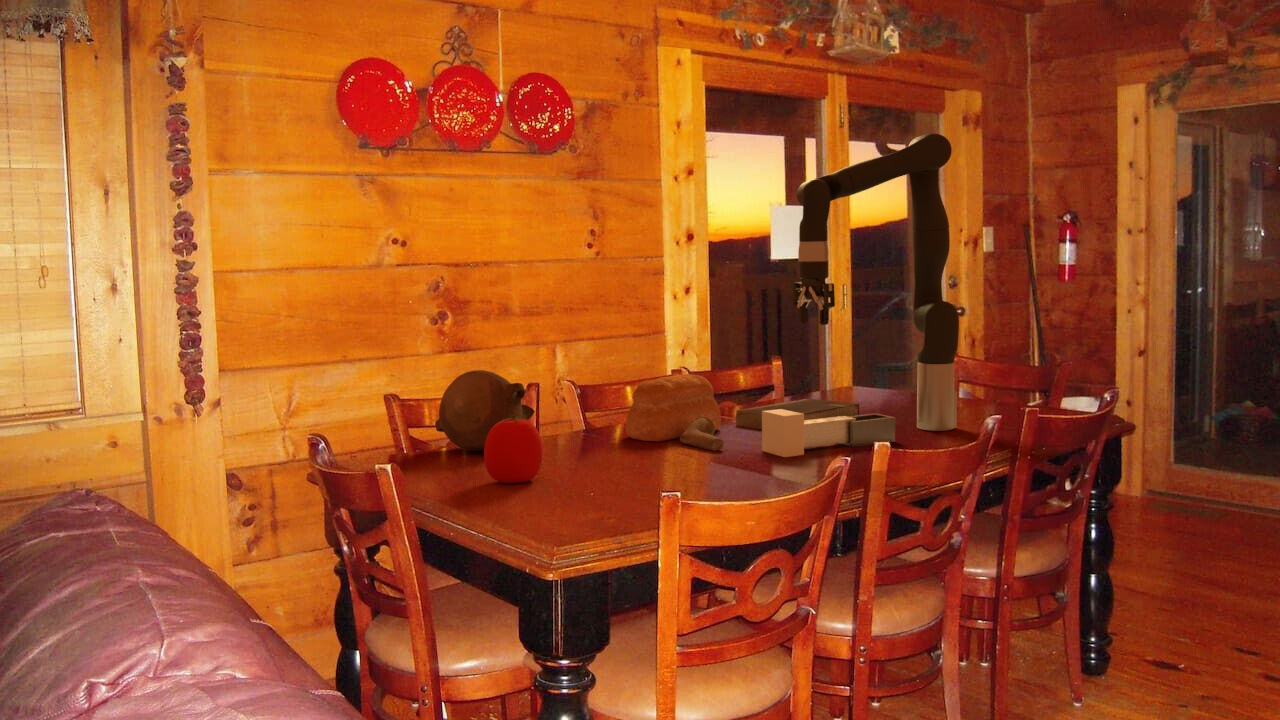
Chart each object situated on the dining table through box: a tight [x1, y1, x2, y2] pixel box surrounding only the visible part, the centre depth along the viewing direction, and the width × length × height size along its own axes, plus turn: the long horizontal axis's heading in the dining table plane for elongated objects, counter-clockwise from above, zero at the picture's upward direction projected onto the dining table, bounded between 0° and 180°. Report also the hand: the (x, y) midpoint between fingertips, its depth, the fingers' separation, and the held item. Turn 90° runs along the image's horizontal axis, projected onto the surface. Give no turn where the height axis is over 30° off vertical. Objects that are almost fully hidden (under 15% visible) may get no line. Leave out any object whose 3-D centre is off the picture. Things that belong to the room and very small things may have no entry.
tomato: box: [483, 415, 544, 484], centre depth 223 cm, size 13×11×14 cm
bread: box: [625, 373, 722, 442], centre depth 276 cm, size 14×26×15 cm, turn 134°
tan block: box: [761, 409, 805, 458], centre depth 249 cm, size 6×9×10 cm, turn 28°
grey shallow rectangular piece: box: [735, 398, 860, 430], centre depth 290 cm, size 29×19×5 cm, turn 131°
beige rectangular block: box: [804, 416, 856, 449], centre depth 253 cm, size 20×5×6 cm, turn 118°
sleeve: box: [837, 413, 896, 448], centre depth 260 cm, size 13×7×6 cm, turn 118°
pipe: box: [679, 416, 724, 452], centre depth 261 cm, size 6×17×10 cm
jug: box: [434, 369, 535, 452], centre depth 263 cm, size 20×20×30 cm
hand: (813, 323), depth 271 cm, fingers open, 8 cm apart
